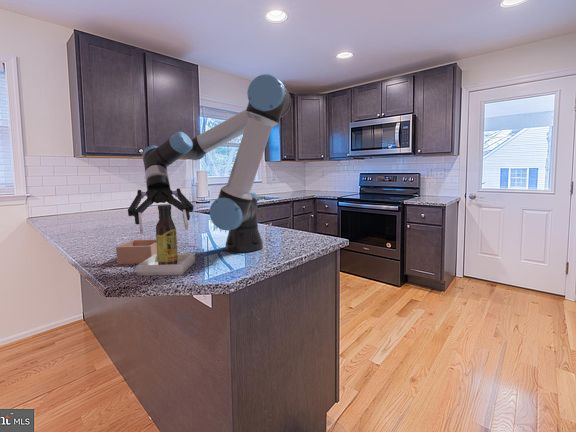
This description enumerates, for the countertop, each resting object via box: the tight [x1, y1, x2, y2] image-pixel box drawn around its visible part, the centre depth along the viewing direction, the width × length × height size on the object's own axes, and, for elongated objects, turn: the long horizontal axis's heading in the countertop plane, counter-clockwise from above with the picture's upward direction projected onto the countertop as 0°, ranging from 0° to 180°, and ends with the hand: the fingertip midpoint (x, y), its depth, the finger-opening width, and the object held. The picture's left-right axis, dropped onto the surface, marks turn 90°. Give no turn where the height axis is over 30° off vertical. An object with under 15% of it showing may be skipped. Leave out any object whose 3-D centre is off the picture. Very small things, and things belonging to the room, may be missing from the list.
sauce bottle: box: [155, 204, 179, 265], centre depth 102 cm, size 7×6×20 cm
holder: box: [115, 238, 157, 265], centre depth 116 cm, size 12×12×6 cm
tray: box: [135, 253, 196, 277], centre depth 103 cm, size 14×14×3 cm
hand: (164, 229), depth 101 cm, fingers open, 13 cm apart
